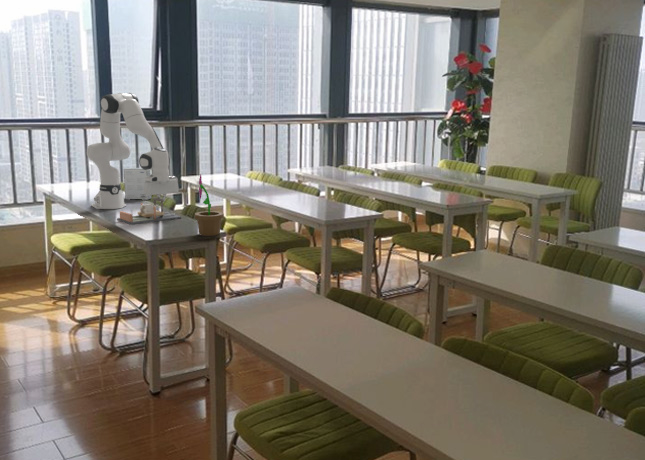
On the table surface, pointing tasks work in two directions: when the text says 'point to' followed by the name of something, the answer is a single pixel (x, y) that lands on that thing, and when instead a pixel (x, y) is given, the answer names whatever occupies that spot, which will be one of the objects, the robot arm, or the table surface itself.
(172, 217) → the dock mat
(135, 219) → the rails
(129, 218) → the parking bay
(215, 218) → the flowerpot
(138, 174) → the hard drive box
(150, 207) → the tan box with handle
